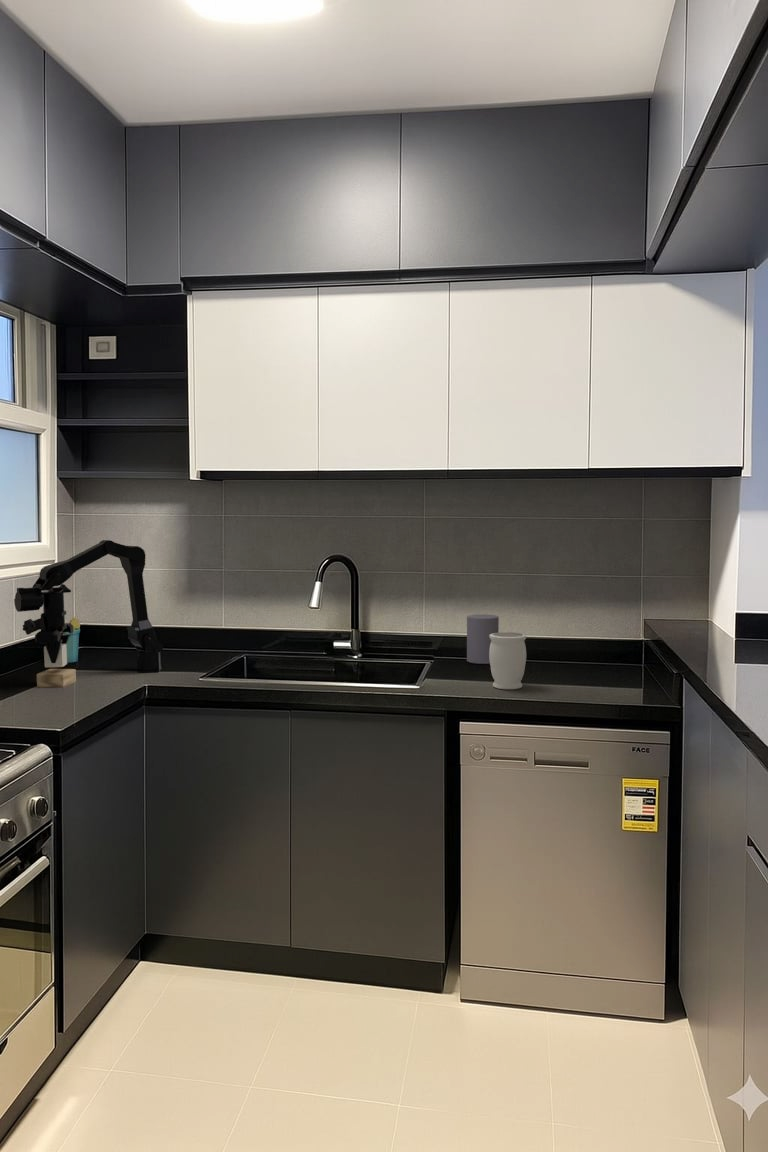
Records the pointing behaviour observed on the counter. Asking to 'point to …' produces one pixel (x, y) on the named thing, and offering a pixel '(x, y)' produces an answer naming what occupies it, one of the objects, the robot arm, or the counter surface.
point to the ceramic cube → (61, 657)
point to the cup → (73, 641)
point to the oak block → (56, 677)
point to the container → (480, 637)
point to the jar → (507, 659)
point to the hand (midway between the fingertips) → (56, 661)
